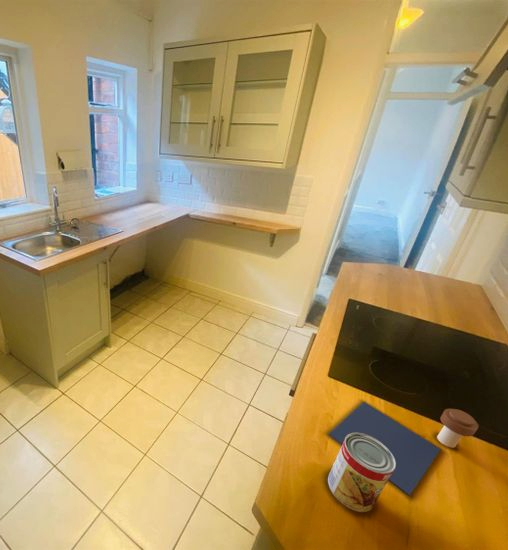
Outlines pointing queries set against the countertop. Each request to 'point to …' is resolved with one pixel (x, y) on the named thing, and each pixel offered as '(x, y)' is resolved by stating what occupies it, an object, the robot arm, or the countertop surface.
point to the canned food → (360, 471)
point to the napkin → (391, 444)
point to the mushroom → (456, 427)
